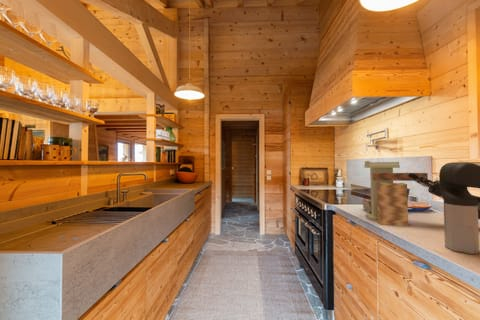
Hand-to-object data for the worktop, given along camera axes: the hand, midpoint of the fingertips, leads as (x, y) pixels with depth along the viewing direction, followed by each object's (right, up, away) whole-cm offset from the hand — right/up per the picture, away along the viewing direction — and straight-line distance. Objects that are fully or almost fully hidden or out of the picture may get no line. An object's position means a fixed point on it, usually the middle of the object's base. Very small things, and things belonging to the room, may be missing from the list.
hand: (407, 174), depth 116 cm
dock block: (-7, -27, +2) cm, 28 cm away
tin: (-3, -28, +30) cm, 41 cm away
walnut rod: (-4, -4, +1) cm, 5 cm away
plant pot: (+16, -28, +30) cm, 44 cm away
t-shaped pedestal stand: (-6, -27, +12) cm, 30 cm away
